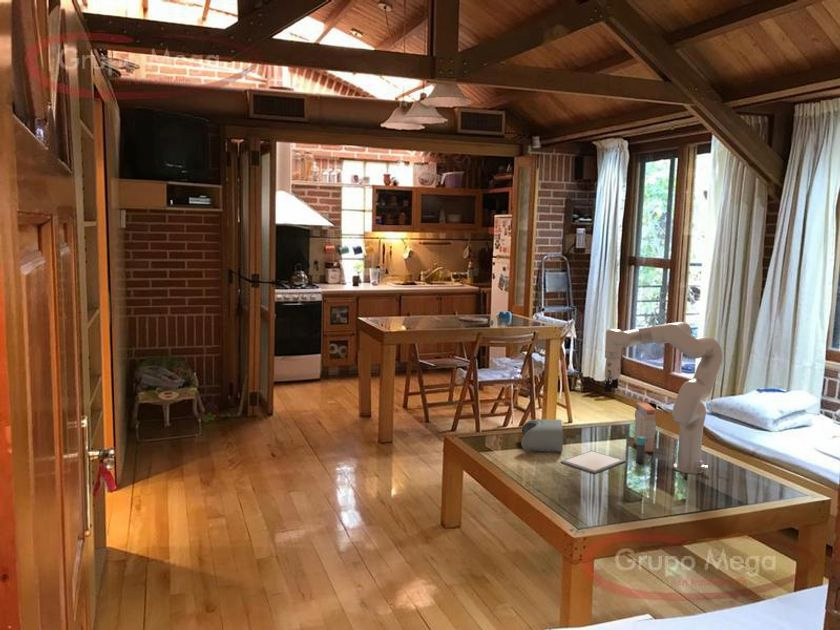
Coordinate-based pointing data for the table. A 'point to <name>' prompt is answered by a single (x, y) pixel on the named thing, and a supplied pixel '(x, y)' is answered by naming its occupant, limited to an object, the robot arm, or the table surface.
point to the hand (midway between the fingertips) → (611, 389)
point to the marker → (640, 450)
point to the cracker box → (645, 425)
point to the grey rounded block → (542, 435)
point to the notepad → (593, 461)
